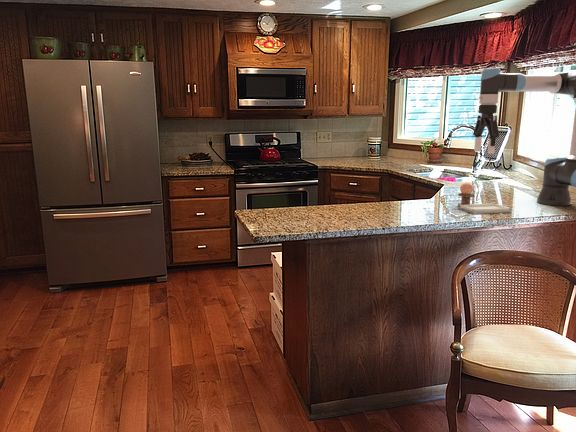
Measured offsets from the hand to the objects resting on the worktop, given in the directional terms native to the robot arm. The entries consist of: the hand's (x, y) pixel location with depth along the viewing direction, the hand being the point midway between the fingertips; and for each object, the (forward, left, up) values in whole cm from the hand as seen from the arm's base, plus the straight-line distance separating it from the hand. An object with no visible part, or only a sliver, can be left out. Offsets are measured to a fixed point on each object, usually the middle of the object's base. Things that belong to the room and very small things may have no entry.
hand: (483, 152), depth 222 cm
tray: (-3, -1, -27) cm, 27 cm away
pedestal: (0, -12, -27) cm, 30 cm away
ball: (0, -12, -22) cm, 25 cm away
